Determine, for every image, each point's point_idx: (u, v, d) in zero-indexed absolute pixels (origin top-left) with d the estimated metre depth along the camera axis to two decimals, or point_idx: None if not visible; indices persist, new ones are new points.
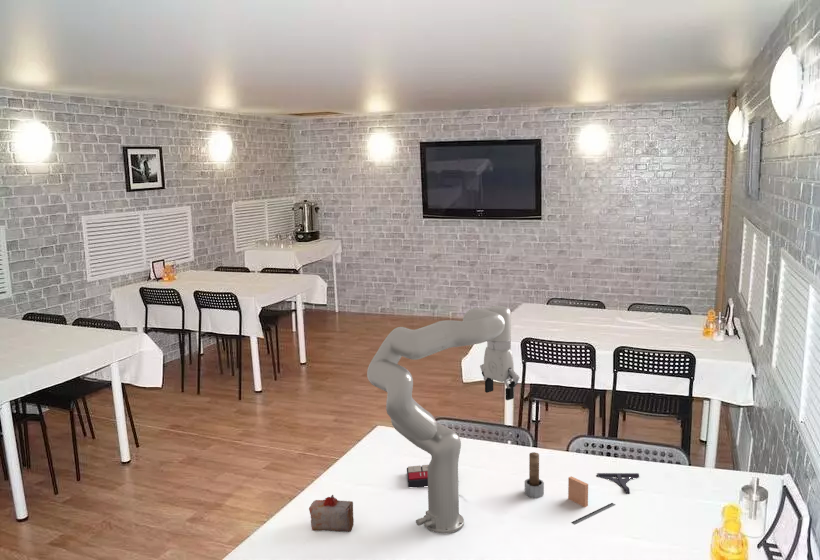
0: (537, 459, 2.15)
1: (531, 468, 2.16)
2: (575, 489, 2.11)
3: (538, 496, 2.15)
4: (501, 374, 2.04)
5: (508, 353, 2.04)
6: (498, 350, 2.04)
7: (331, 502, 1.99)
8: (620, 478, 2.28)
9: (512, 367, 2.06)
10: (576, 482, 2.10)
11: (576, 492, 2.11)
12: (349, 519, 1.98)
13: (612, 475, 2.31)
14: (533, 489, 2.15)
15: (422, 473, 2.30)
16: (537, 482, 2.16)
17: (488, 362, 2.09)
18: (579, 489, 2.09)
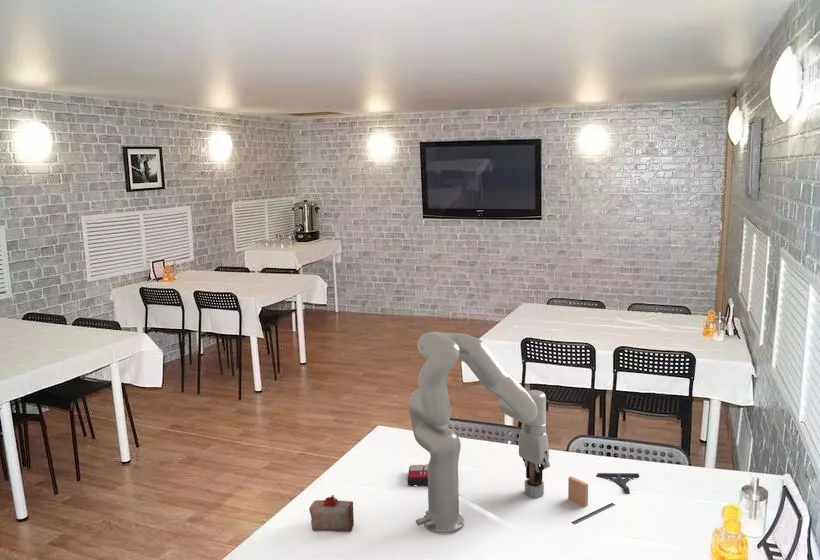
0: None
1: (531, 468, 2.16)
2: (575, 489, 2.11)
3: (538, 496, 2.15)
4: (537, 457, 2.11)
5: (543, 437, 2.11)
6: (534, 434, 2.11)
7: (331, 502, 1.99)
8: (620, 478, 2.28)
9: (547, 450, 2.12)
10: (576, 482, 2.10)
11: (576, 492, 2.11)
12: (349, 519, 1.98)
13: (612, 475, 2.31)
14: (533, 489, 2.15)
15: (423, 472, 2.31)
16: None
17: (524, 444, 2.15)
18: (579, 489, 2.09)
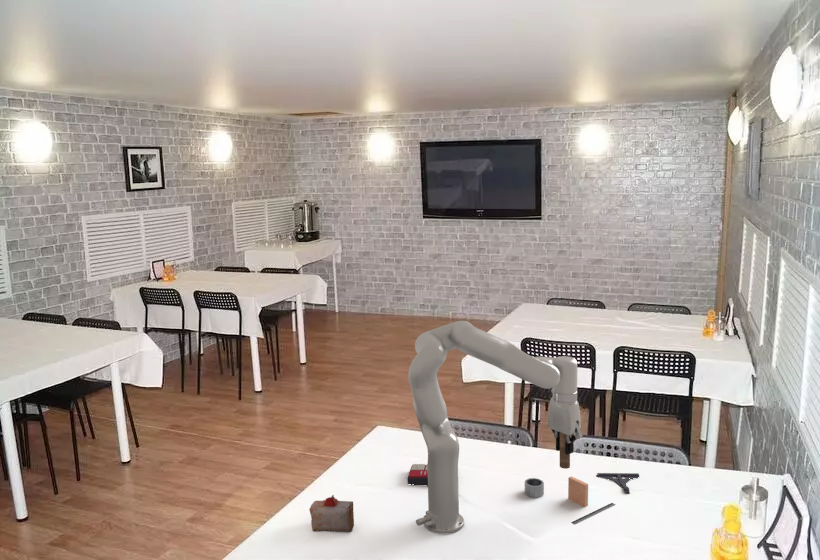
0: None
1: (562, 439, 2.03)
2: (575, 489, 2.11)
3: (538, 496, 2.15)
4: (568, 427, 1.98)
5: (575, 406, 1.98)
6: (565, 403, 1.98)
7: (331, 502, 1.99)
8: (620, 478, 2.28)
9: (579, 420, 2.00)
10: (576, 482, 2.10)
11: (576, 492, 2.11)
12: (350, 519, 1.98)
13: (612, 475, 2.31)
14: (533, 489, 2.15)
15: (423, 472, 2.31)
16: (568, 454, 2.03)
17: (553, 414, 2.03)
18: (579, 489, 2.09)
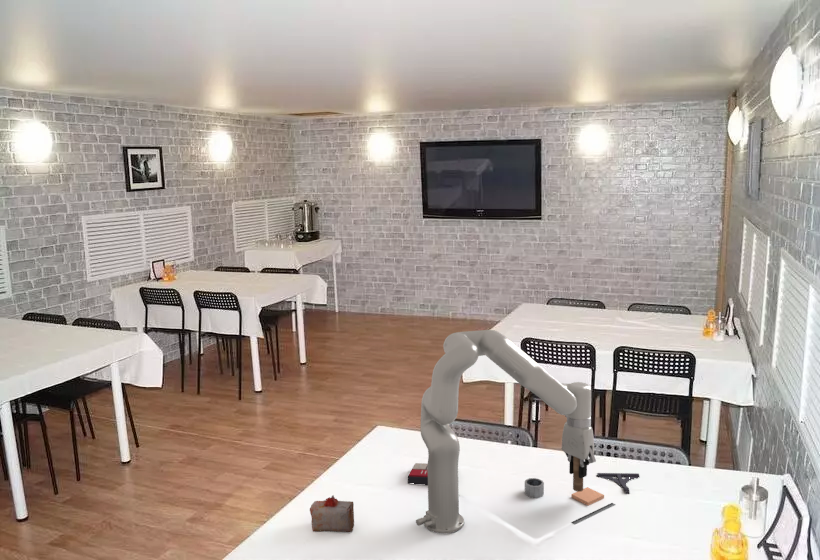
0: None
1: (575, 463, 2.08)
2: (588, 493, 2.15)
3: (538, 496, 2.15)
4: (582, 452, 2.04)
5: (589, 431, 2.04)
6: (579, 428, 2.04)
7: (332, 503, 1.99)
8: (620, 478, 2.28)
9: (593, 444, 2.05)
10: (594, 491, 2.16)
11: (587, 494, 2.14)
12: (350, 519, 1.98)
13: (612, 475, 2.31)
14: (533, 489, 2.15)
15: (424, 471, 2.31)
16: None
17: (567, 438, 2.08)
18: (593, 494, 2.14)
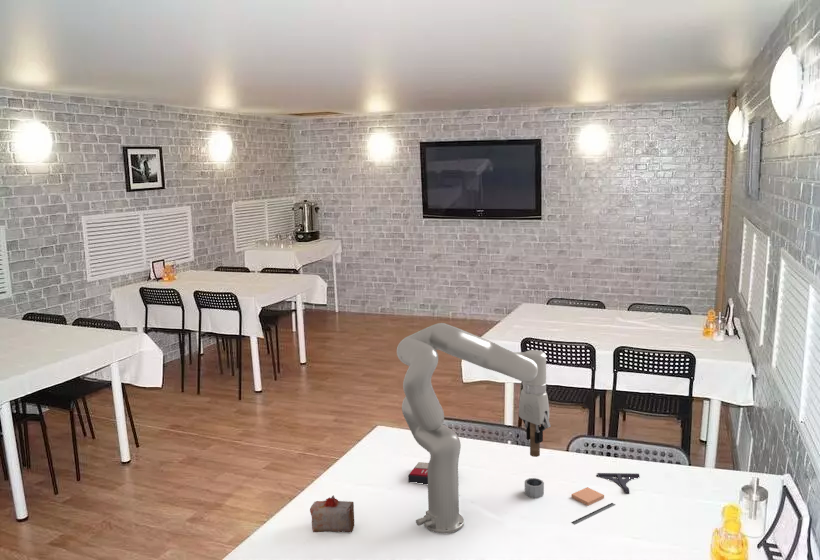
0: None
1: (532, 429, 2.14)
2: (588, 493, 2.15)
3: (538, 496, 2.15)
4: (537, 417, 2.09)
5: (544, 397, 2.09)
6: (534, 394, 2.09)
7: (332, 503, 1.99)
8: (620, 478, 2.28)
9: (548, 410, 2.10)
10: (594, 491, 2.16)
11: (587, 494, 2.14)
12: (350, 519, 1.98)
13: (612, 475, 2.31)
14: (533, 489, 2.15)
15: (425, 470, 2.32)
16: (538, 443, 2.14)
17: (524, 405, 2.13)
18: (593, 494, 2.14)
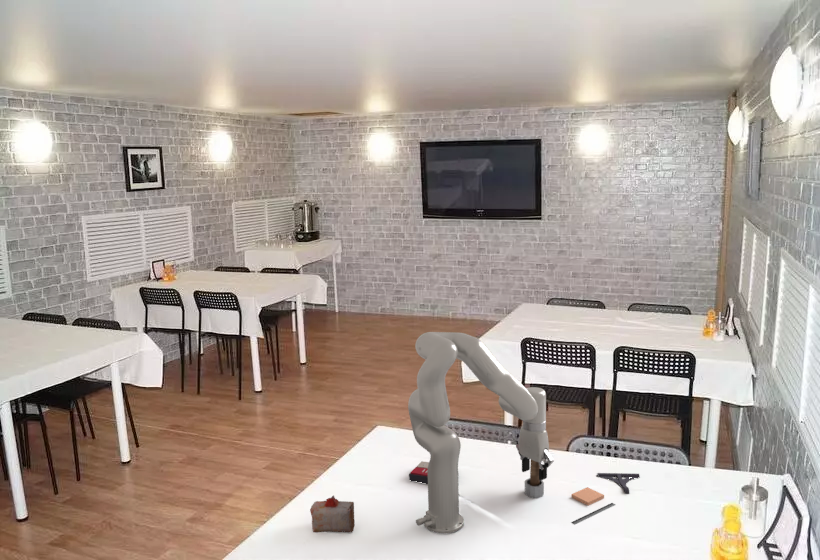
0: None
1: (532, 468, 2.16)
2: (588, 493, 2.15)
3: (538, 496, 2.15)
4: (537, 455, 2.11)
5: (543, 434, 2.11)
6: (534, 431, 2.11)
7: (332, 503, 1.99)
8: (620, 478, 2.28)
9: (547, 447, 2.12)
10: (594, 491, 2.16)
11: (587, 494, 2.14)
12: (351, 519, 1.98)
13: (612, 475, 2.31)
14: (533, 489, 2.15)
15: (426, 470, 2.32)
16: (538, 482, 2.16)
17: (524, 441, 2.15)
18: (593, 494, 2.14)
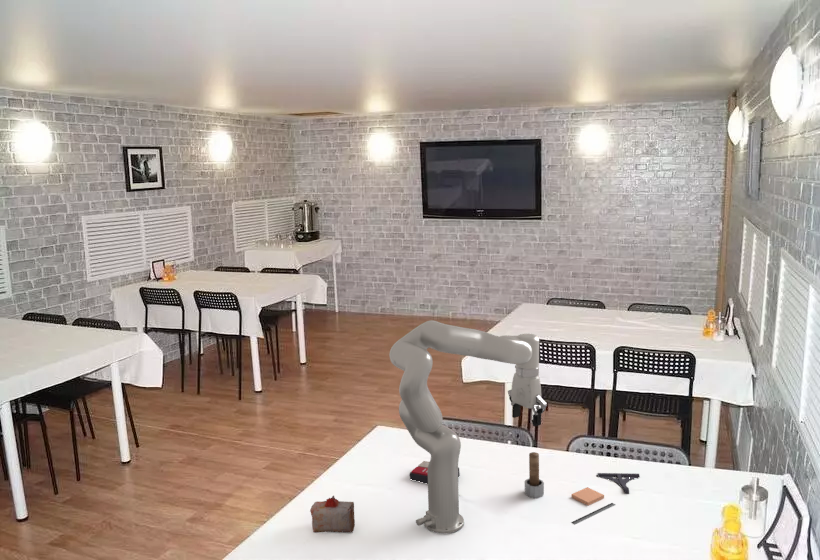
0: (537, 459, 2.15)
1: (531, 468, 2.16)
2: (588, 493, 2.15)
3: (538, 496, 2.15)
4: (529, 401, 2.09)
5: (536, 380, 2.09)
6: (526, 377, 2.09)
7: (332, 503, 1.98)
8: (620, 478, 2.28)
9: (540, 394, 2.10)
10: (594, 491, 2.16)
11: (587, 494, 2.14)
12: (351, 520, 1.98)
13: (612, 475, 2.31)
14: (533, 489, 2.15)
15: (427, 469, 2.33)
16: (537, 482, 2.16)
17: (516, 388, 2.13)
18: (593, 494, 2.14)
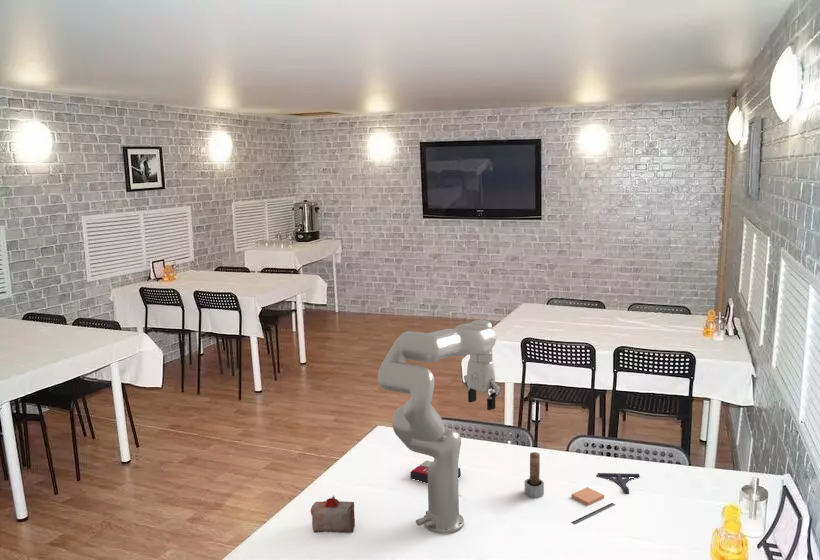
0: (538, 459, 2.15)
1: (532, 468, 2.16)
2: (588, 493, 2.15)
3: (538, 496, 2.15)
4: (483, 385, 2.14)
5: (489, 365, 2.14)
6: (480, 362, 2.14)
7: (333, 503, 1.98)
8: (620, 478, 2.28)
9: (493, 378, 2.15)
10: (594, 491, 2.16)
11: (587, 494, 2.14)
12: (351, 520, 1.98)
13: (612, 475, 2.31)
14: (533, 489, 2.15)
15: (427, 469, 2.33)
16: (537, 482, 2.16)
17: (471, 373, 2.18)
18: (593, 494, 2.14)
